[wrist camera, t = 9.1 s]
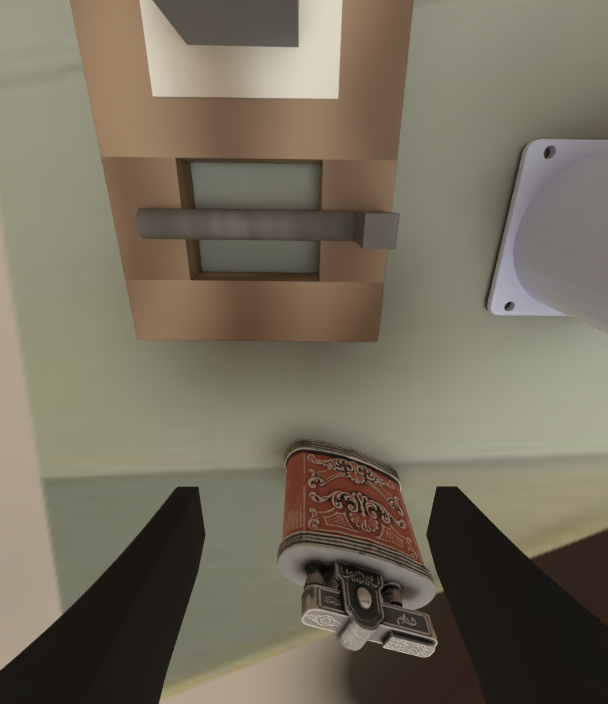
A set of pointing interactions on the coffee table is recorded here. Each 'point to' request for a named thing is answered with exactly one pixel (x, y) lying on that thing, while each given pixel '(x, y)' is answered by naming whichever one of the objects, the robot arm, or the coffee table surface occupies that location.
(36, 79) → the coffee table surface
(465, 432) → the coffee table surface
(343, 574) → the lighter
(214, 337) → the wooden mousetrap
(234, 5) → the gray rectangular block
